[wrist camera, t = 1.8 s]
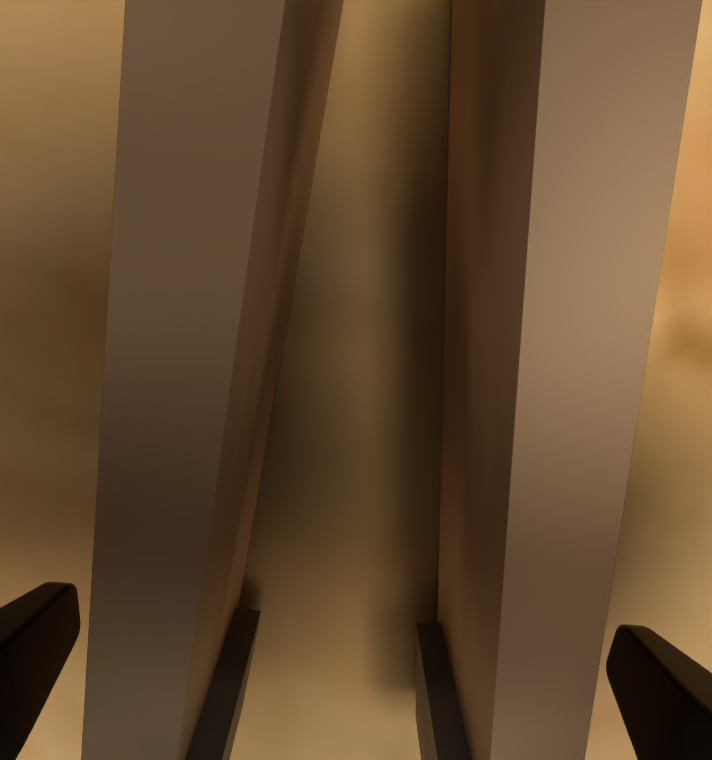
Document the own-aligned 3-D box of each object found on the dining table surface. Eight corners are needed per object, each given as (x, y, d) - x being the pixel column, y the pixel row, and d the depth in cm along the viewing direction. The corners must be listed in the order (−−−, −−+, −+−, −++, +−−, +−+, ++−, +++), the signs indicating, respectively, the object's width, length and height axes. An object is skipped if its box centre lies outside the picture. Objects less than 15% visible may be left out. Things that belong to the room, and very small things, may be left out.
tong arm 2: (266, -50, 8) (150, -421, 3) (382, -19, 8) (413, -341, 3) (172, 673, 12) (72, 909, 8) (247, 685, 12) (188, 925, 8)
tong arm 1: (417, -16, 8) (489, -332, 4) (535, -21, 8) (756, -343, 3) (413, 697, 12) (443, 939, 8) (487, 695, 12) (556, 937, 8)
